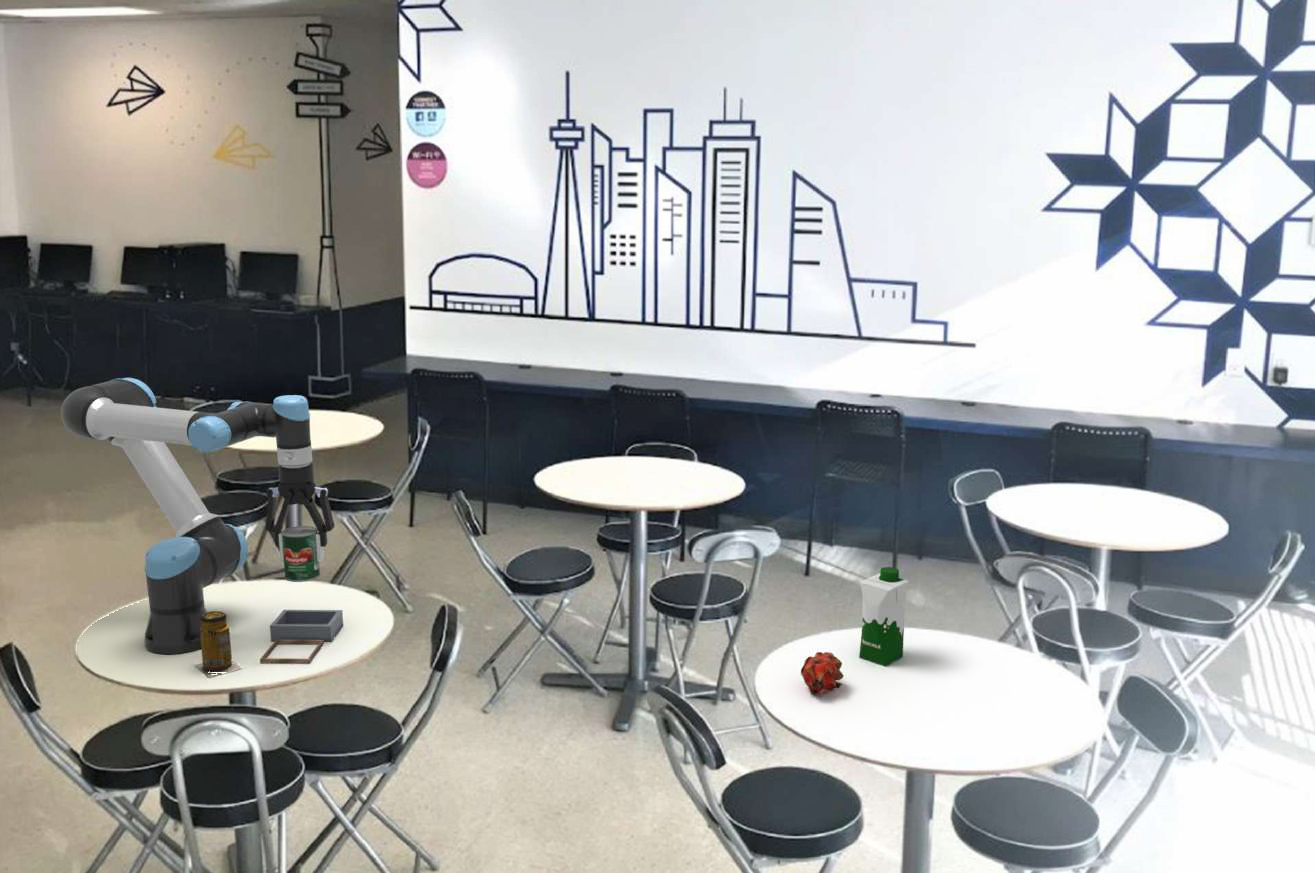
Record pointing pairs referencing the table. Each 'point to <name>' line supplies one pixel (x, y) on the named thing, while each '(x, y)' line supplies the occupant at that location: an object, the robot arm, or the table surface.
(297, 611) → the bin
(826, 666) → the dragon fruit
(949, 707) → the table surface
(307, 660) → the wooden picture frame
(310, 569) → the canned tomato
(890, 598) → the milk carton
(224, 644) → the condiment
